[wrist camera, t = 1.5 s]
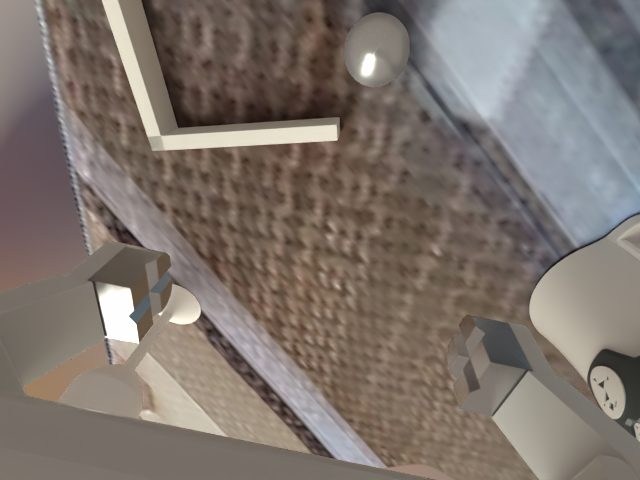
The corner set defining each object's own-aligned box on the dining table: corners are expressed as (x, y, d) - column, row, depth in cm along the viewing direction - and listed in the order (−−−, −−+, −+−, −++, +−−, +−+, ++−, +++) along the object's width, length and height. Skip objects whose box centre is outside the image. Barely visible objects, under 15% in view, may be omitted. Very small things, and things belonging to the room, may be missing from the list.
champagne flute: (154, 274, 41) (-64, 515, 20) (207, 298, 41) (48, 551, 21) (144, 310, 44) (-52, 548, 23) (193, 331, 45) (45, 577, 24)
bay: (320, -226, 19) (312, -266, 17) (340, 131, 29) (337, 140, 27) (74, -172, 22) (35, -200, 19) (169, 141, 32) (152, 150, 29)
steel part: (402, 14, 25) (411, 8, 20) (400, 75, 27) (408, 84, 22) (347, 20, 25) (342, 16, 20) (349, 79, 27) (345, 89, 22)
